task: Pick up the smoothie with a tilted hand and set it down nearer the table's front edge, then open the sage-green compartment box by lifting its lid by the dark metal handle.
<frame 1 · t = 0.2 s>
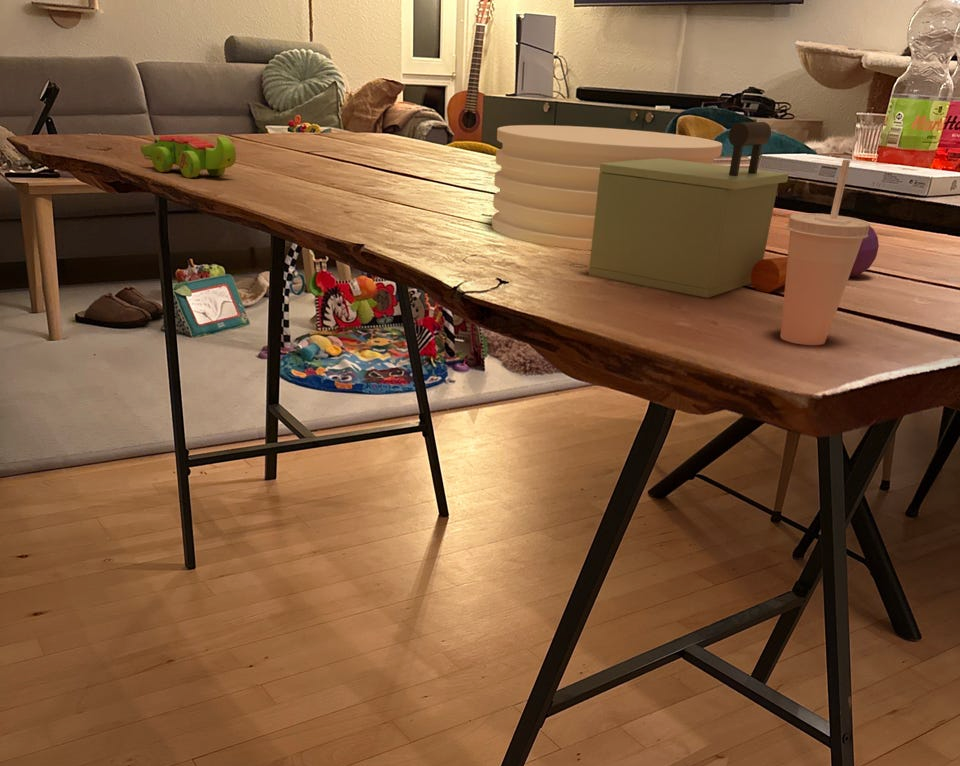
compartment: (674, 279, 103), on the table
toy crocodile: (189, 175, 156), on the table
plate stack: (598, 235, 127), on the table
compartment lid: (698, 147, 96), point 13 cm above the table, hinge at 0.0°
smoothie: (801, 343, 83), on the table
kendama: (810, 285, 105), on the table
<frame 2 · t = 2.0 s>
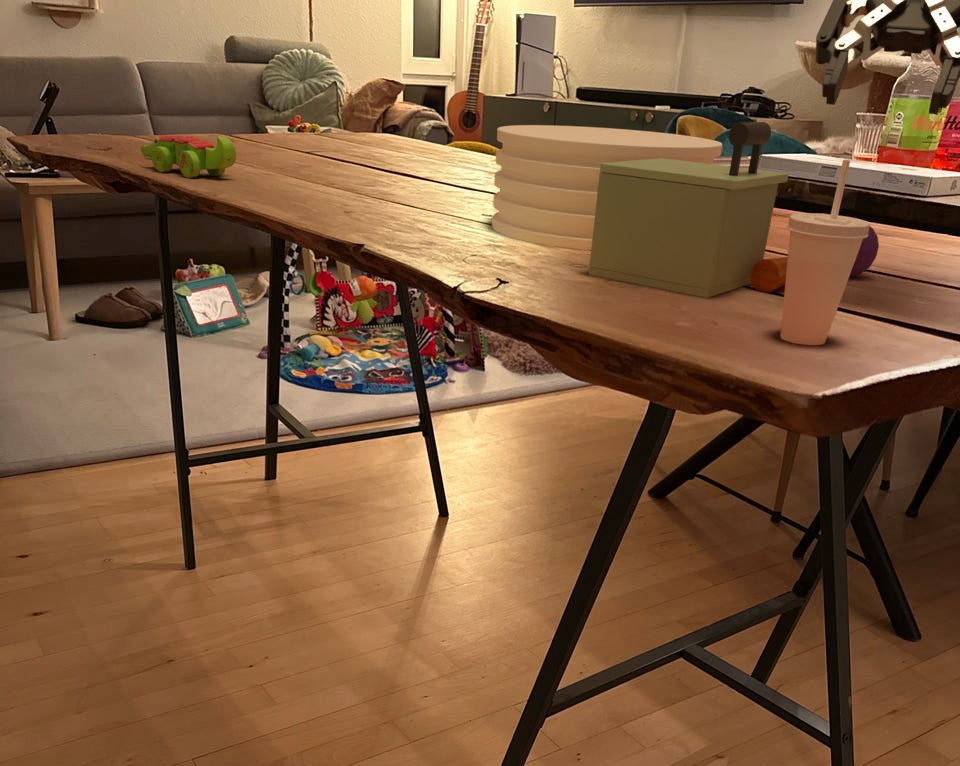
hand: (881, 101, 82), 18 cm above the table, tool tilted 45°, fingers open, 8 cm apart
nothing on the table moved.
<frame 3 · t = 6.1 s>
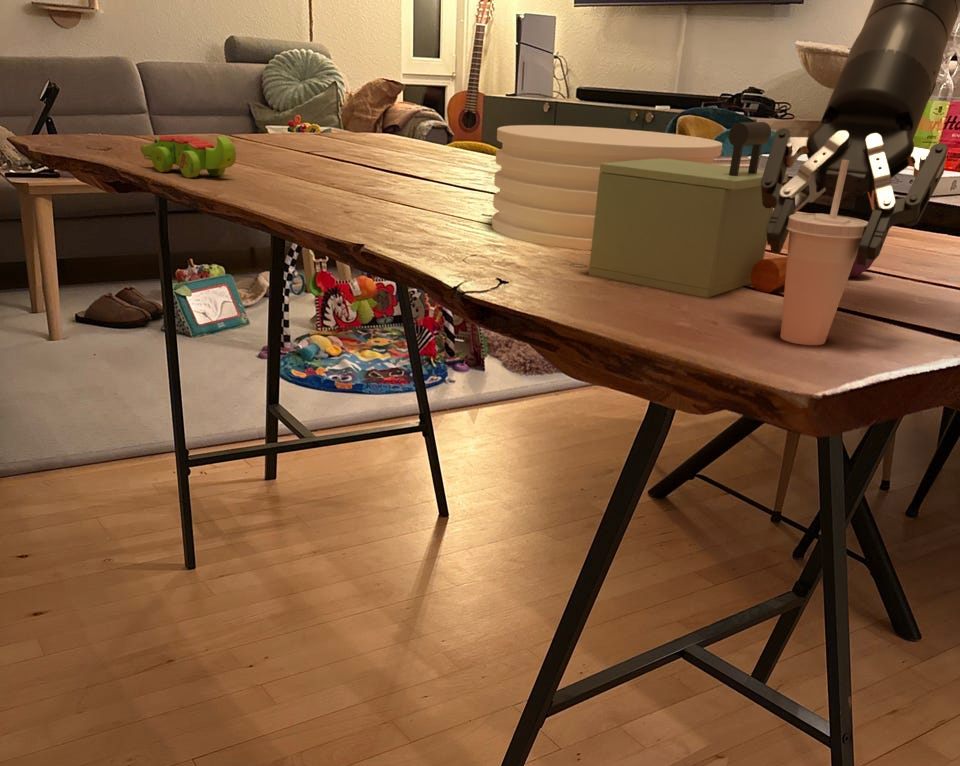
hand: (817, 252, 78), 7 cm above the table, tool tilted 45°, fingers closed on smoothie, 6 cm apart
smoothie: (801, 343, 83), on the table, touching gripper
everything else where it was.
when the fingers open (7 cm above the table, at t = 12.8 s): smoothie stays where it is, on the table.
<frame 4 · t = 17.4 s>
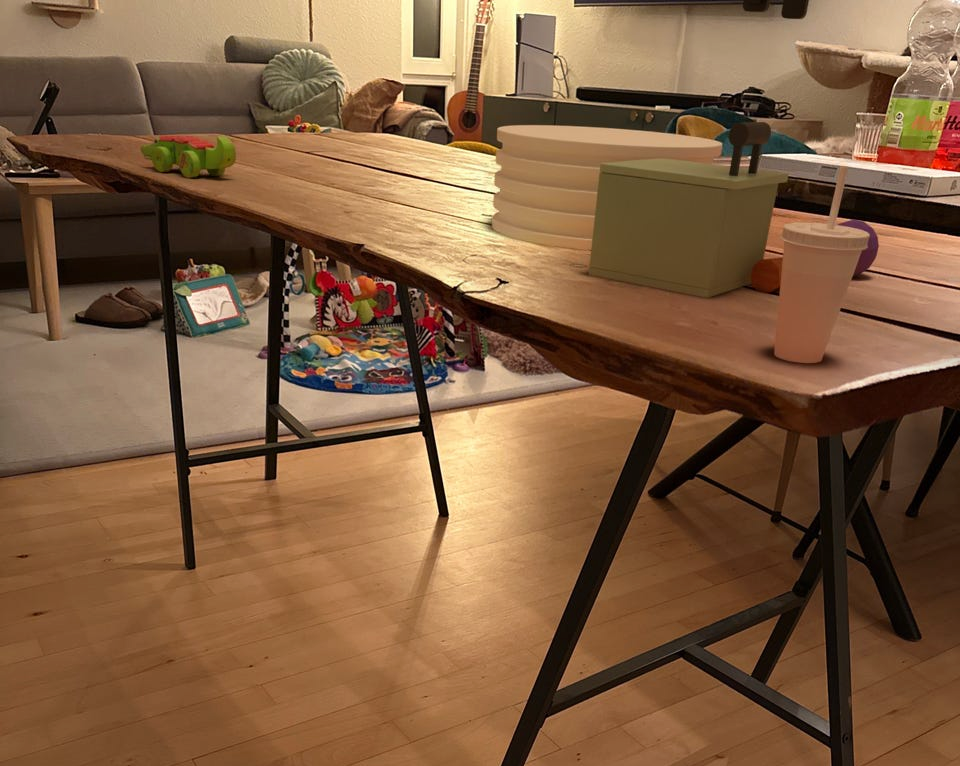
hand: (774, 15, 88), 24 cm above the table, tool pointing down, fingers open, 8 cm apart
smoothie: (796, 360, 78), on the table
everything else where it was.
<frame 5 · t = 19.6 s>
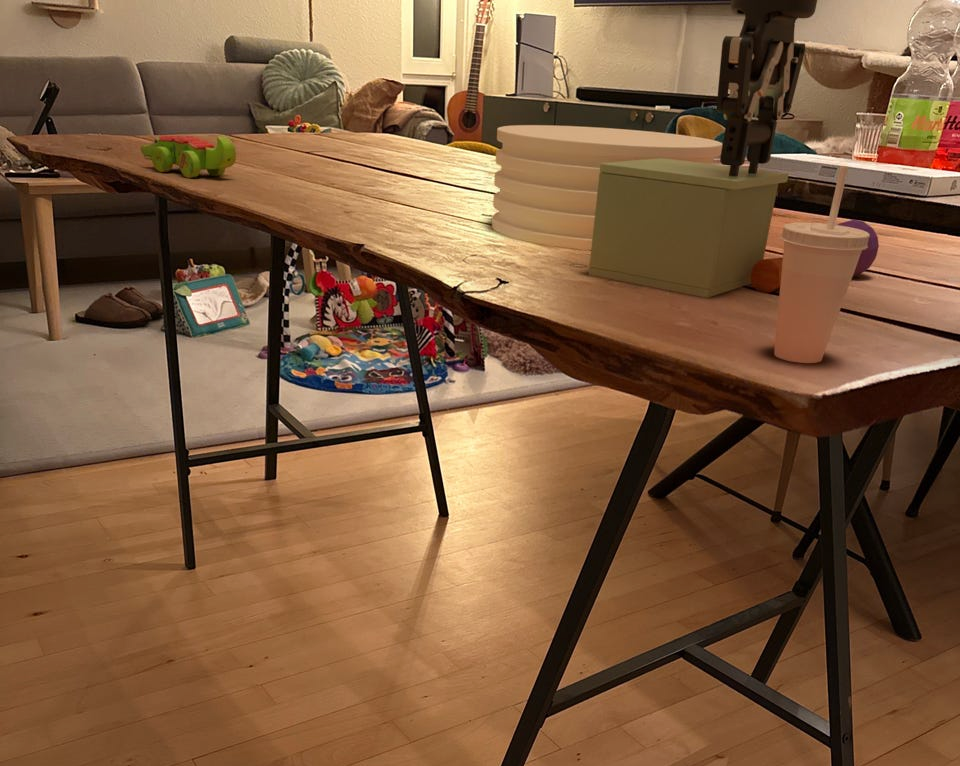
hand: (745, 163, 94), 12 cm above the table, tool pointing down, fingers closed on compartment lid, 5 cm apart
compartment lid: (698, 147, 96), point 13 cm above the table, hinge at 0.0°, touching gripper
everything else where it was.
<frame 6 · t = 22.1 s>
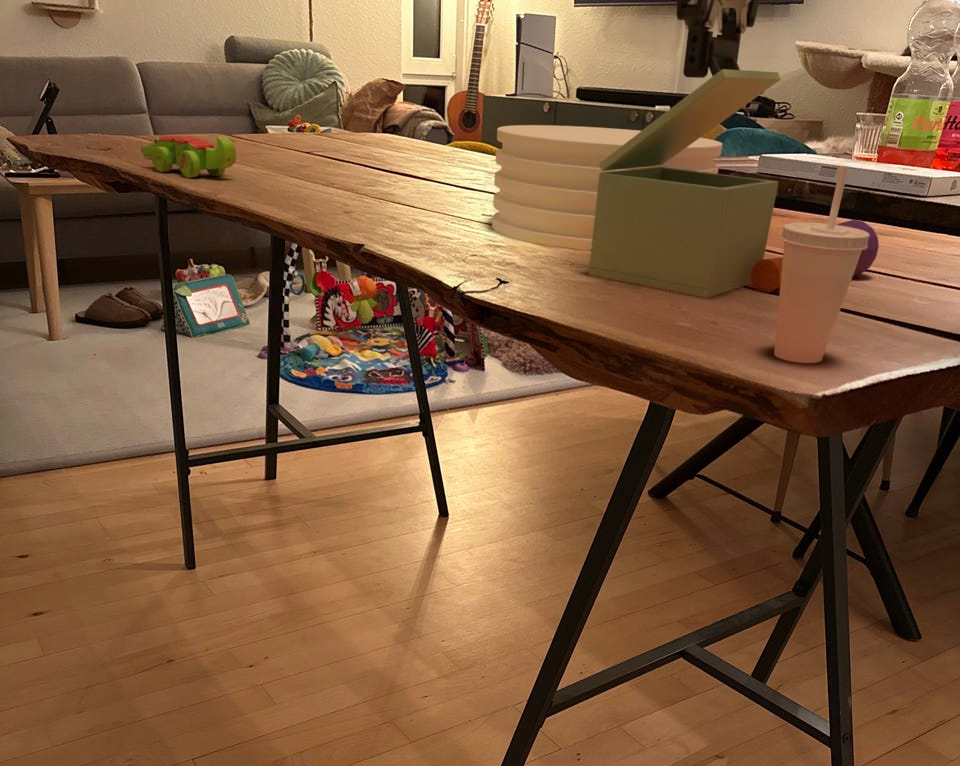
hand: (709, 77, 93), 19 cm above the table, tool pointing down, fingers closed on compartment lid, 5 cm apart
compartment lid: (679, 100, 95), point 17 cm above the table, hinge at 36.9°, touching gripper
everything else where it was.
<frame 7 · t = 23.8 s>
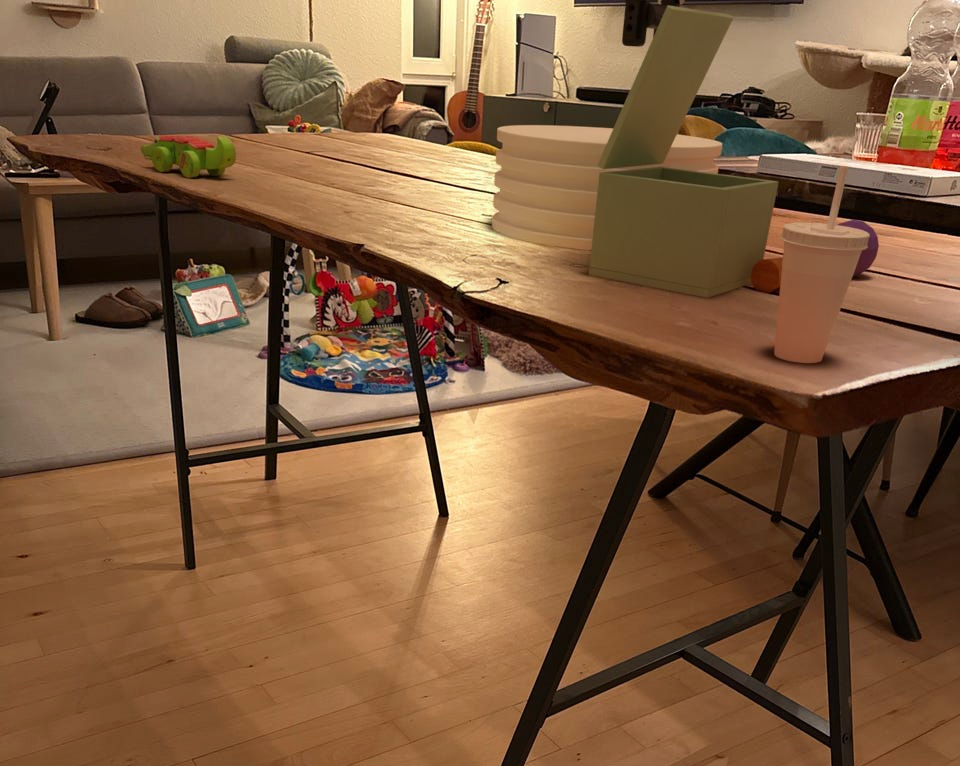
hand: (648, 46, 95), 21 cm above the table, tool pointing down, fingers closed on compartment lid, 5 cm apart
compartment lid: (647, 80, 97), point 18 cm above the table, hinge at 67.8°, touching gripper
everything else where it was.
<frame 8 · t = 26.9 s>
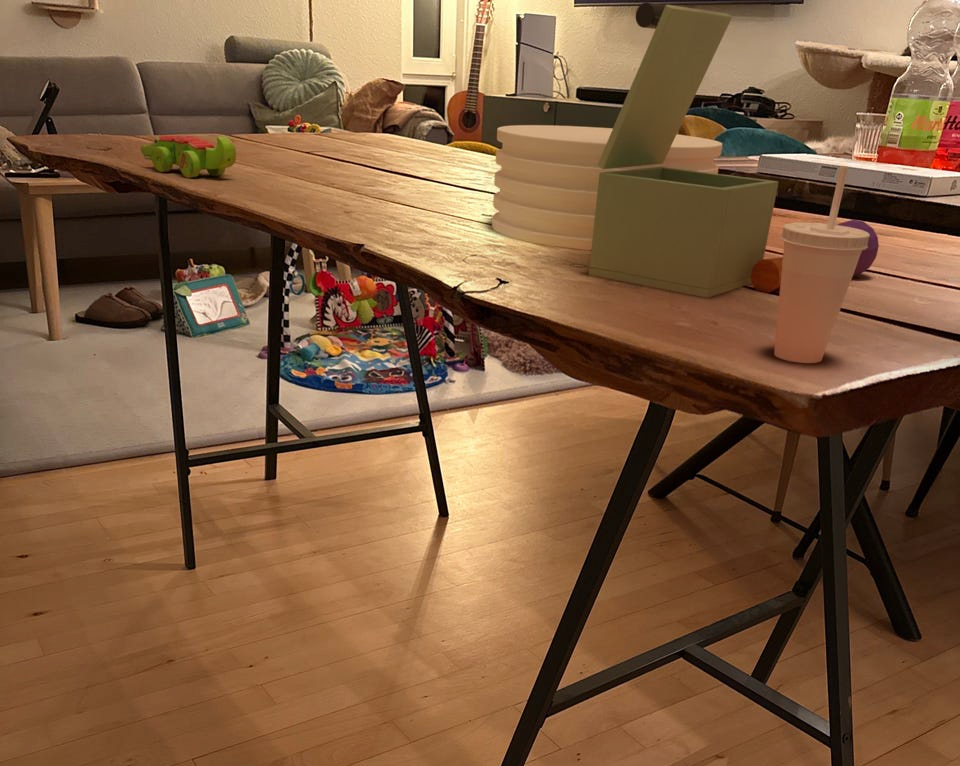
compartment lid: (647, 80, 97), point 18 cm above the table, hinge at 68.4°
everything else where it was.
at the end: smoothie inside the target area (0.1 cm from its centre), on the table; smoothie tilted 0°; compartment lid at +68° (first picture: +0°) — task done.
